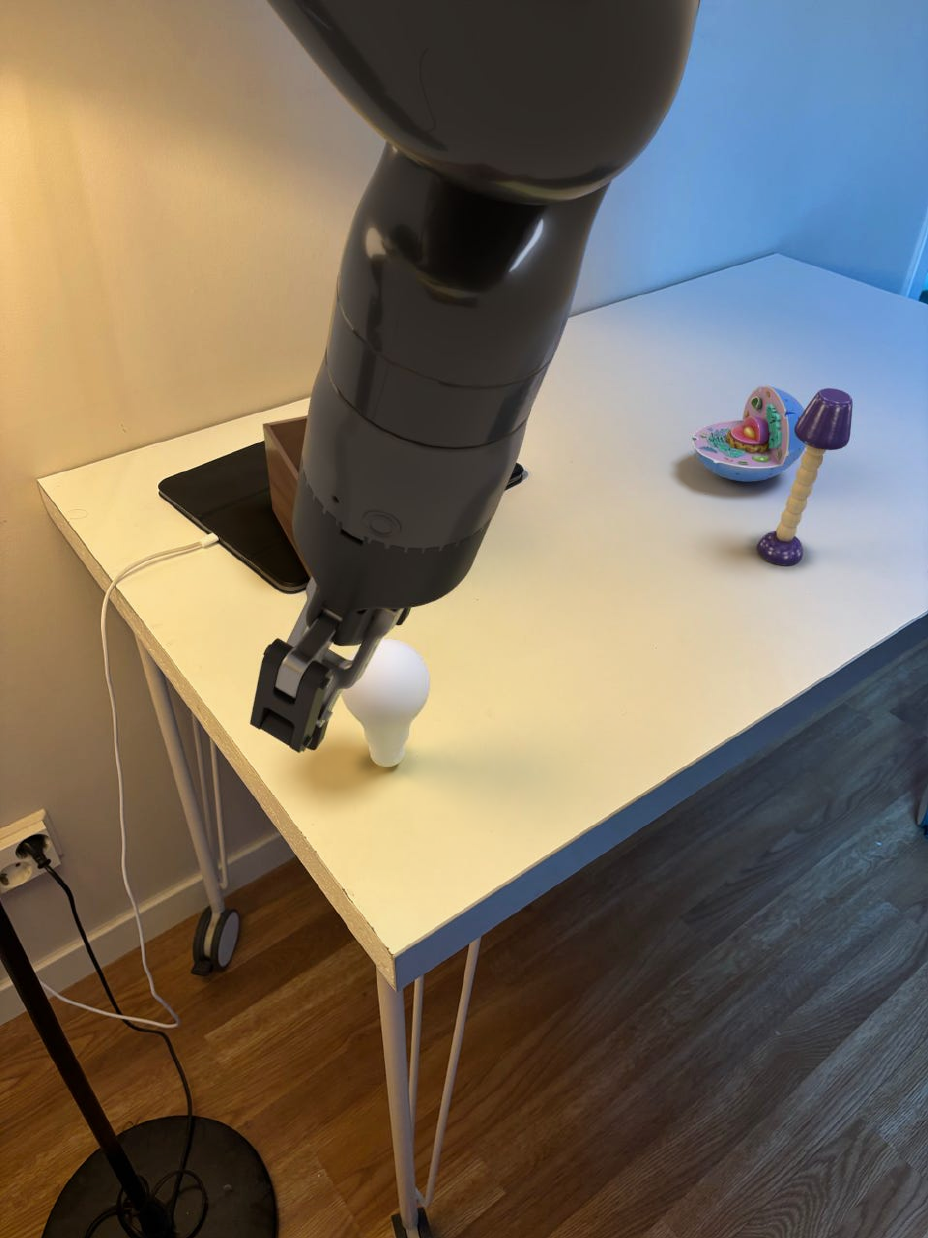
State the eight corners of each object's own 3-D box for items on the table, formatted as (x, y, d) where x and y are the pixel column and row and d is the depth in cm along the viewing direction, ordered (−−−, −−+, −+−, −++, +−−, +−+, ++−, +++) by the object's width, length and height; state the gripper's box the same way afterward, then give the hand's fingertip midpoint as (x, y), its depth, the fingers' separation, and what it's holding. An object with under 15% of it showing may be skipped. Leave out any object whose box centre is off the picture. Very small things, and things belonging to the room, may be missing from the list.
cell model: (670, 455, 104) (686, 374, 98) (771, 446, 106) (793, 366, 100) (707, 506, 97) (727, 421, 90) (814, 495, 99) (841, 412, 93)
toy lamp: (797, 538, 93) (848, 380, 82) (816, 567, 89) (872, 407, 78) (750, 540, 92) (795, 382, 81) (767, 569, 89) (816, 408, 78)
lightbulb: (392, 807, 67) (389, 697, 59) (328, 765, 69) (317, 655, 62) (446, 756, 70) (449, 645, 63) (383, 717, 73) (379, 608, 66)
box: (314, 586, 85) (306, 496, 79) (272, 509, 94) (262, 423, 87) (447, 552, 89) (449, 465, 83) (395, 482, 98) (393, 398, 92)
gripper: (409, 312, 39) (352, 544, 52) (203, 533, 31) (197, 742, 44) (568, 401, 39) (470, 612, 52) (401, 649, 31) (335, 825, 44)
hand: (344, 672), depth 48 cm, fingers open, 8 cm apart
